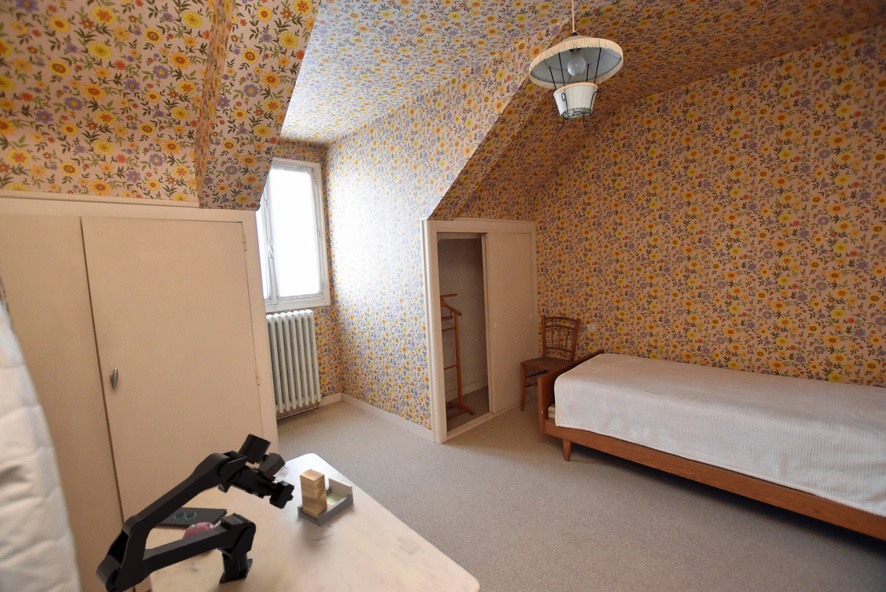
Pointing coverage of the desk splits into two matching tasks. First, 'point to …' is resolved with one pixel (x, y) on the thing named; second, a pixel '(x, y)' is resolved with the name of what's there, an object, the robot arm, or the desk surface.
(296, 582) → the desk surface
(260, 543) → the desk surface
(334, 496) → the rail box
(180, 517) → the smart home device
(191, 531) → the video game controller
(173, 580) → the desk surface
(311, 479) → the oak slider
